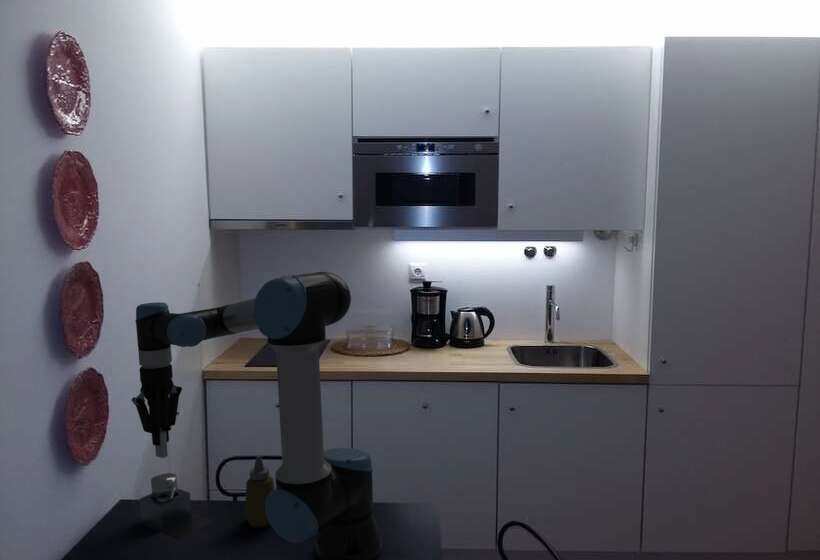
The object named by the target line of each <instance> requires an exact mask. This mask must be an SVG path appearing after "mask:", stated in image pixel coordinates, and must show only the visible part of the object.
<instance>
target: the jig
mask: <svg viewBox="0 0 820 560" xmlns="http://www.w3.org/2000/svg"><path fill="white" fill-rule="evenodd" d="M177 490H178V491H177V493H176V494H174V497H173V498H171V499H169V500H167V501H165V502H159V501H157V498H154V497H152V493H149V494H148V495H145V496H143V497H141V498H139V505H140V506H139V508H140V519H141V520H140V522H138V524H141V525H143V526H146V527H147V528H151V529H153V530H155V531H158V532H161V533H163V534H166V535H167V536H170V537H173V538H176V539H178V540H181V539H182V538H184V537H186V536H189V535H190V534H192V533H194V532H196V531H198V530H200V529H201V528H203V527H205V526H207V525H209V524H210V523H212V522H214V520H212V519H210V518H207V517H204V516H201V515H199V514H195V513H192V506H191V492H189V491H185V490H184V489H180V488H177Z"/></svg>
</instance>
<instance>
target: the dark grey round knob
mask: <svg viewBox="0 0 820 560" xmlns="http://www.w3.org/2000/svg"><path fill="white" fill-rule="evenodd" d="M150 484H151V485H150V486H151V494H152V497H154V498H157V501H159V502H165V501H167V500H169V499H171V498H173V497H174V494H176V493H177V491H178V490H177V489H178V480H177V474H176V473H172V472H169V473H168V472H166V473H161V474H159V475H155V476H153V477H152V478H151V479H150Z"/></svg>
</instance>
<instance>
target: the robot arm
mask: <svg viewBox="0 0 820 560" xmlns="http://www.w3.org/2000/svg"><path fill="white" fill-rule="evenodd" d="M351 302H352V295H351V291H350V288H349V286H348V284H347V282H346V281H345V280H344V279H343V278H342V277H340V276H339V275H337V274H336V273H334V272H329V271H318V272H313V273H303V274H294V275H282V276H280V277H277V278H273V279H270V280H268V281H267V282H265V283H264V284H263V285H262V286H261V288H260V289H259V290H258V292H257V294H256V296H255V298H252V299H251V298H250V299H246V300H244V301H243V300H242V301H239V302H234V303H232V304H226V305H221V306H216V307H212V308H206V309H201V310H195V311H194V310H193V311H189V312H187V311H186V312H183V313H181V312H180V313H173V312H170V310H169V305H168V303H165V302H162V301H161V302H160V301H159V302H156V301H155V302H147V303H146V302H145V303H141V304H139V305H137V306H136V308H135V320H134V321H135V328H136V337H137V338H136V340H137V348H138V350H137V352H138V363H139V366H140V368H139V380H140V383H141V387H140V391H139V392H140V393H139V394H138V395H137V396H136V397H135V396H133V397H132V398H131V403H133V404H134V406H135V407H136V411H137V413H138V416H139V420H140V424H141V425H142V429H143V431H144V433H149V434H151V439H152V441H151V442H152V445H153V446H154V447H155V448H154V449H155V450H154V451H155V457H157V458H160V459H164V458H166V457H167V458H168V457H169V455H168V453H169V451H168V443H169V441H170V436H169V435H170V434H169V432H170V431H171V430H172V426H175V425H176V421H177V415H178V407H179V400H180V396H181V392H182V391H183V388H182V386H178V385H175V383H174V381H173V380H172V379H173V376H174V375H173V365H172V361H173V356H172V346H177V347H181V348H186V347H188V348H192V347H196V346H198V345H199V344H200V343H201V342H203V341H208V340H211V339H216V338H220V337H225V336H232V335H236V334H238V333H239V334H240V333H244V332H251V331H255V330H258V331H259V332H260V334H262V335H263V336H265V337H267V345H268V346H269V347H271V348H272V349H273V350H274V351H275V354H276V355H275V357H276V358H275V359H276V373H277V391H278V408H279V410H278V412H279V413H278V414H279V426H280V428H279V429H280V445H281V463H282V464H281V465H280V466H279V467H278V468H277V469H276V470H275V490H272V491H271V492H270V494H269V496H267V498H266V501H265V512H266V516H267V518H268V521H269V523H270V525H269V526H271V528H273V530H274V531H275V533H276V534H277V535H279V536H280V537H281V538H282V539H284V540H286V541H288V542H290V543H297V544H298V543H302V542H304V541H306V540H307V539H309V538H312V537H315V536H316V535H317V538H316V542H315V549H316V550H315V551H316V552H315V553H316V556H317V558H318V559H319V560H374V559H376V558H377V557H378V556H379V555H380V553H381V552H382V549H383V537H382V534H381V531H380V530H379V528H378V524H377V521H376V519H375V516H374V495H373V466H372V458H371V456H370V455H369V454H368V453H367V452H366V451H364V450H361V449H358V448H357V449H356V448H351V447H338V448H337V447H336V448H330V449H328V450H325V451H324V437H323V436H324V433H323V429H324V427H323V411H322V409H323V408H322V391H321V390H322V389H321V386H322V385H321V370H320V368H321V367H320V351H319V349H320V347H321V346H322V345H323V344H324V343H325V342H326V340H327V339H326V338H327V336H326V327H327V326H331V325H333V324H336V323H337V322H339V321H340V320H342V319H343V318H344V317H345V316H346V315H347V313H348V312H349V309H350V306H351ZM171 345H172V346H171ZM146 403H147V404H146Z"/></svg>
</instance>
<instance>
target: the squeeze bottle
mask: <svg viewBox="0 0 820 560" xmlns="http://www.w3.org/2000/svg"><path fill="white" fill-rule="evenodd" d="M245 486H246V487H245V502H244V503H245V507H244V515H245V518H246V520H247V522H248V524H249V526H250V527H252V528H259V529H260V528H264V527H266V528H267V527H269V526H271V525H270V523H269V521H268V518H267V516H266V512H265V501H266V498H267V496H269V494H270V492H271V491H272V490H276V486H275V482H274V478H273V476H271V475H270V469H269V468H268V467H266V466H264V462H263V458H262V455H256V456H255V462H254V468H251V470H250V471H249V478H248V479H247V481H246V484H245Z"/></svg>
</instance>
